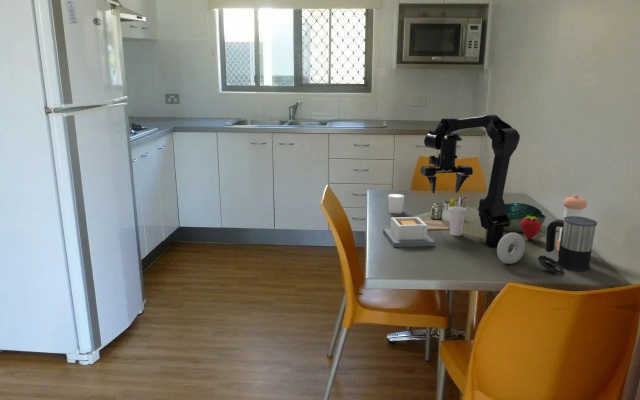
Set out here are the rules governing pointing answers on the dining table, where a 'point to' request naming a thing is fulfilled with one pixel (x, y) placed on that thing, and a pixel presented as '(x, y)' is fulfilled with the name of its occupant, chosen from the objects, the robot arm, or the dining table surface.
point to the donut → (505, 244)
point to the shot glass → (395, 203)
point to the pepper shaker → (572, 210)
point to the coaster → (435, 225)
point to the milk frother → (570, 244)
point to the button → (408, 223)
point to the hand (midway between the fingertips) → (444, 192)
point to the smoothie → (456, 219)
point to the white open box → (408, 233)
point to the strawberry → (530, 226)
